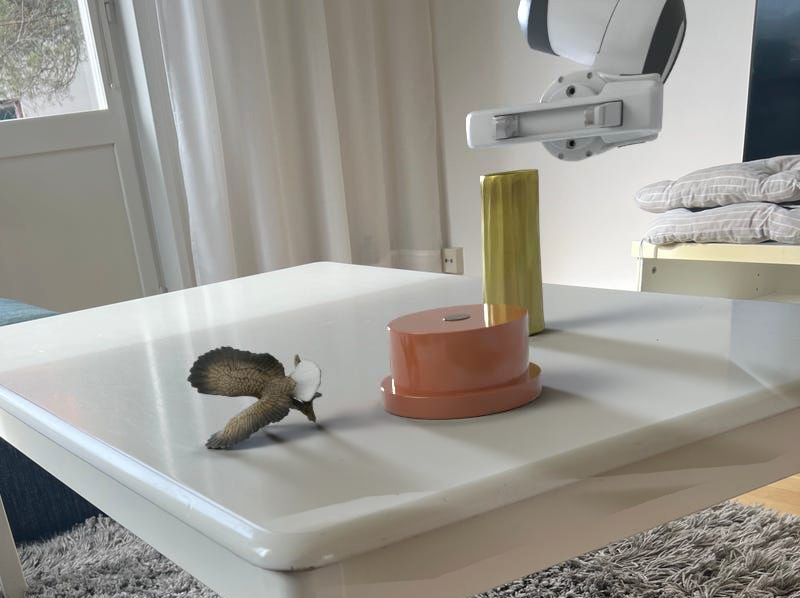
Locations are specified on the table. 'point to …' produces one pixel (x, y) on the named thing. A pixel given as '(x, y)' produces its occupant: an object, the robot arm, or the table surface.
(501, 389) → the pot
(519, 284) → the vase
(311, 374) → the eagle figurine
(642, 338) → the table surface
